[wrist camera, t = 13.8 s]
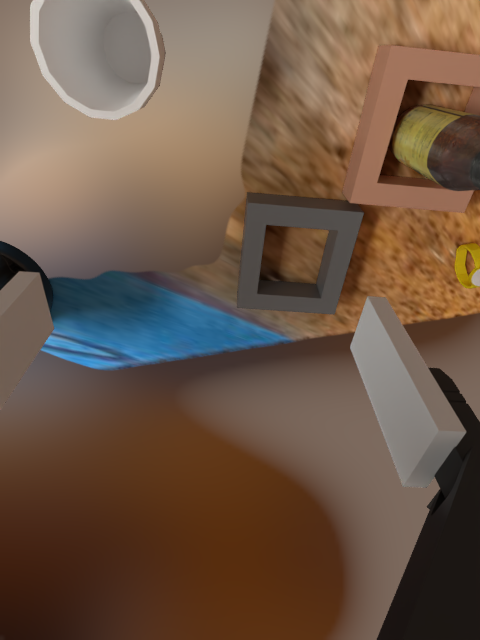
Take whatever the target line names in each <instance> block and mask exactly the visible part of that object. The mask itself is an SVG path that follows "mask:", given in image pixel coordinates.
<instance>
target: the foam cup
mask: <svg viewBox="0 0 480 640" xmlns="http://www.w3.org/2000/svg"><path fill="white" fill-rule="evenodd" d="M30 42H31V45H32V48H33V50H34V53H35V56H36V58H37V61H38V64H39V66H40V69H41V72H42V75H43V76H44V78H45V79H46V80H47V81H48V82H49V84H50V85H51V86H52V87H53V88H54V90H55V91H56V92H57V94H58V95H59V96H60V97H61V99H62V100H63V101H64V102H65V103H67V104H69V105H70V106H72V107H74V108H75V109H77V110H79V111H80V112H82V113H84V114H85V115H87V116H89V117H92V118H102V119H112V120H117V119H120V118H122V117H124V116H126V115H129V114H131V113H133V112H135V111H138V110H140V109H141V108H143V107H144V106H145V105H146V104H147V103H148V101H149V100H150V98H151V97H152V95H153V94H154V93H155V91H156V90H157V89H158V87H159V86H160V80H161V74H162V70H163V65H164V59H165V48H164V43H163V38H162V35H161V33H160V31H159V26H158V22H157V21H156V19H155V17H154V16H153V14H152V12H151V11H150V9H149V8H148V6H147V4H146V3H145V1H144V0H33V1H32V3H31V5H30Z"/></svg>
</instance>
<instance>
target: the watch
mask: <svg viewBox="0 0 480 640" xmlns="http://www.w3.org/2000/svg"><path fill="white" fill-rule="evenodd" d="M467 250H468V251H469V252H470V253H471V255H472V257H473V260H474V264H475V268H474V269H473V270H472V271H471V273H470V275H469V276H468V274H467V271H466V266H465V262H466V255H467ZM456 251H457V252H456V260H455V267H454V268H455V272H456V275H457V278H458V280H459V282H460V283H461V284H462V285H463V286H464V287H465V288H476V287H480V247H479V246H478V245H477V244H476V243H469V244H464V245H460V246H459V247H458V248H457V250H456Z"/></svg>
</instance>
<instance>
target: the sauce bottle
mask: <svg viewBox="0 0 480 640" xmlns="http://www.w3.org/2000/svg"><path fill="white" fill-rule="evenodd" d="M389 147H390V150H391V152H392V153H393V154H394V156H395V157H396V158H397V159H398V161H399V162H401V163H402V164H404V165H406V166H408V167H409V168H411V169H413V170H415V171H416V172H418V173H420V174H421V175H423V176H425V177H427V178H428V179H430V180H432V181H434V182H435V183H437V184H439V185H441V186H442V187H444V188H446V189H449V190H453V191H469V190H480V116H479V115H476V114H471V113H466V112H462V111H457V110H453V109H448V108H443V107H439V106H434V105H416V106H413V107H411V108H409V109H407V110H406V111H404V112H403V113H402V114H401V115H400V116H399V117H398V118H397V119H396V121H395V124H394V128H393V131H392V135H391V138H390V141H389Z"/></svg>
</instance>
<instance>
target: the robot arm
mask: <svg viewBox="0 0 480 640" xmlns="http://www.w3.org/2000/svg"><path fill="white" fill-rule="evenodd" d="M52 302H53V293H52V288H51V285H50V282H49V280H48V278H47V276H46V275H45V273H44V272H43V270H42V269H41V268H40V267H39V266H38V264H37V263H36V262H35V261H34V260H33V259H31V258H30V257H29V256H28V255H26V254H25V253H23V252H22V251H21V250H19V249H17V248H16V247H14V246H12V245H10V244H7V243H5V242H2V241H0V410H1V409H2V407H3V406H4V404H5V403H6V401H7V400H8V398H9V396H10V395H11V393H12V392H13V390H14V389H15V387H16V386H17V384H18V383H19V381H20V380H21V378H22V377H23V375H24V374H25V372H26V371H27V369H28V368H29V366H30V365H31V363H32V362H33V360H34V358H35V357H36V355H37V354H38V352H39V351H40V349H41V348H42V346H43V345H44V343H45V342H46V340H47V339H48V337H49V336H50V334H51V333H52V331H53V330H54V326H53V322H52V318H51V315H50V309H51V306H52ZM350 349H351V351H352V353H353V356H354V359H355V362H356V364H357V367H358V369H359V372H360V375H361V377H362V380H363V382H364V385H365V388H366V391H367V393H368V396H369V398H370V401H371V404H372V406H373V409H374V412H375V414H376V417H377V419H378V422H379V425H380V427H381V430H382V433H383V435H384V438H385V441H386V443H387V446H388V449H389V451H390V454H391V456H392V459H393V462H394V464H395V467H396V470H397V472H398V475H399V477H400V480H401V482H402V485H403V487H423V488H427V487H428V485H429V484H430V483H431V481H432V480H433V478H434V477H435V478H436V480H437V482H438V484H439V487H440V490H439V491H438V493H437V494H436V495H435V497H434V498H433V499H432V501H431V502H430V503H429V505H428V506H427V508H429V509H430V511H429V513H428V515H427V518H426V521H425V523H424V525H423V528H422V530H421V533H420V535H419V538H418V540H417V542H416V545H415V547H414V550H413V552H412V555H411V557H410V560H409V562H408V564H407V567H406V569H405V572H404V574H403V577H402V579H401V581H400V584H399V586H398V589H397V591H396V594H395V596H394V599H393V601H392V603H391V606H390V608H389V611H388V614H387V616H386V618H385V620H384V623H383V625H382V628H381V630H380V633H379V635H378V638H377V640H480V422H479V420H478V419H477V417H476V416H475V414H474V413H473V411H472V409H471V408H470V406H469V405H468V404H466V400H465V399H464V397H463V396H462V394H460V393H459V392H460V391H459V390H458V388H457V387H456V385H455V383H454V382H453V381H452V379H451V378H450V377H449V376H447V375H446V374H445V373H444V372H443V371H442V370H441V369H438V368H428V367H427V365H426V364H425V362H424V360H423V359H422V357H421V355H420V354H419V352H418V350H417V349H416V347H415V345H414V344H413V342H412V341H411V339H410V337H409V336H408V334H407V332H406V330H405V329H404V327H403V325H402V324H401V322H400V320H399V319H398V317H397V315H396V314H395V312H394V310H393V309H392V307H391V305H390V304H389V302H388V300H387V299H386V298H385V297H371V296H368V297H367V299H366V302H365V305H364V308H363V311H362V314H361V317H360V320H359V323H358V326H357V329H356V331H355V334H354V338H353V340H352V343H351V346H350Z"/></svg>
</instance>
